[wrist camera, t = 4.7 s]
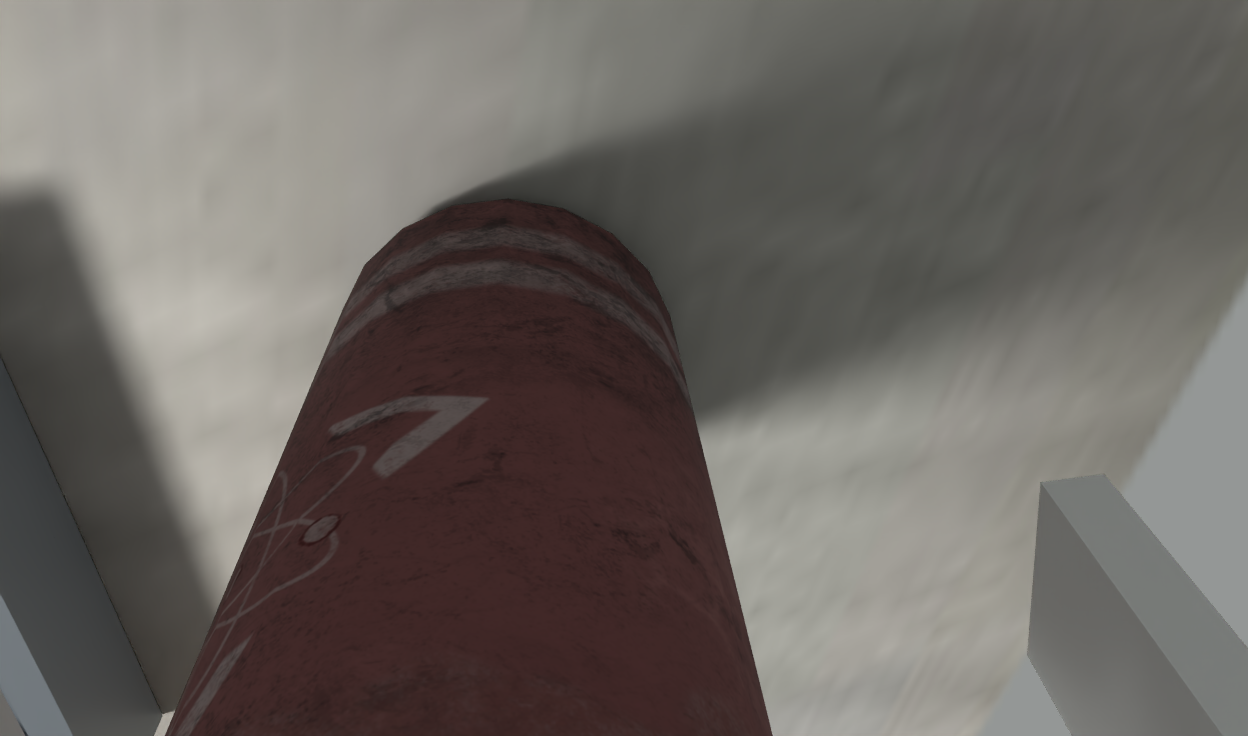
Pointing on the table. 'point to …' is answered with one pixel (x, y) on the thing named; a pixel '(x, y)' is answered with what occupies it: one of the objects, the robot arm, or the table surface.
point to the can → (487, 511)
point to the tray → (57, 606)
